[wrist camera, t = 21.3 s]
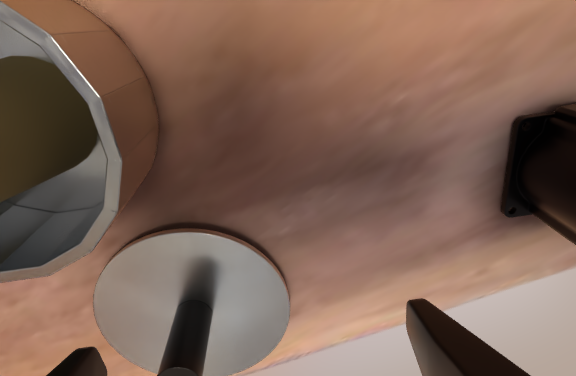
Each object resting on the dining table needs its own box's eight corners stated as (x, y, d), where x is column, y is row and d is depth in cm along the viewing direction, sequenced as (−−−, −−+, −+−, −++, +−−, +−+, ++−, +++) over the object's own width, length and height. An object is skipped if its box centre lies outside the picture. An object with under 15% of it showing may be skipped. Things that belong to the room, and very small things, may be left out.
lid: (318, 326, 27) (333, 406, 21) (172, 388, 28) (151, 477, 23) (228, 189, 21) (217, 247, 16) (57, 275, 23) (-7, 355, 18)
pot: (183, 200, 22) (157, 261, 16) (-20, 229, 21) (-115, 299, 16) (117, -36, 16) (45, -64, 11) (-152, 0, 16) (-358, -9, 11)
